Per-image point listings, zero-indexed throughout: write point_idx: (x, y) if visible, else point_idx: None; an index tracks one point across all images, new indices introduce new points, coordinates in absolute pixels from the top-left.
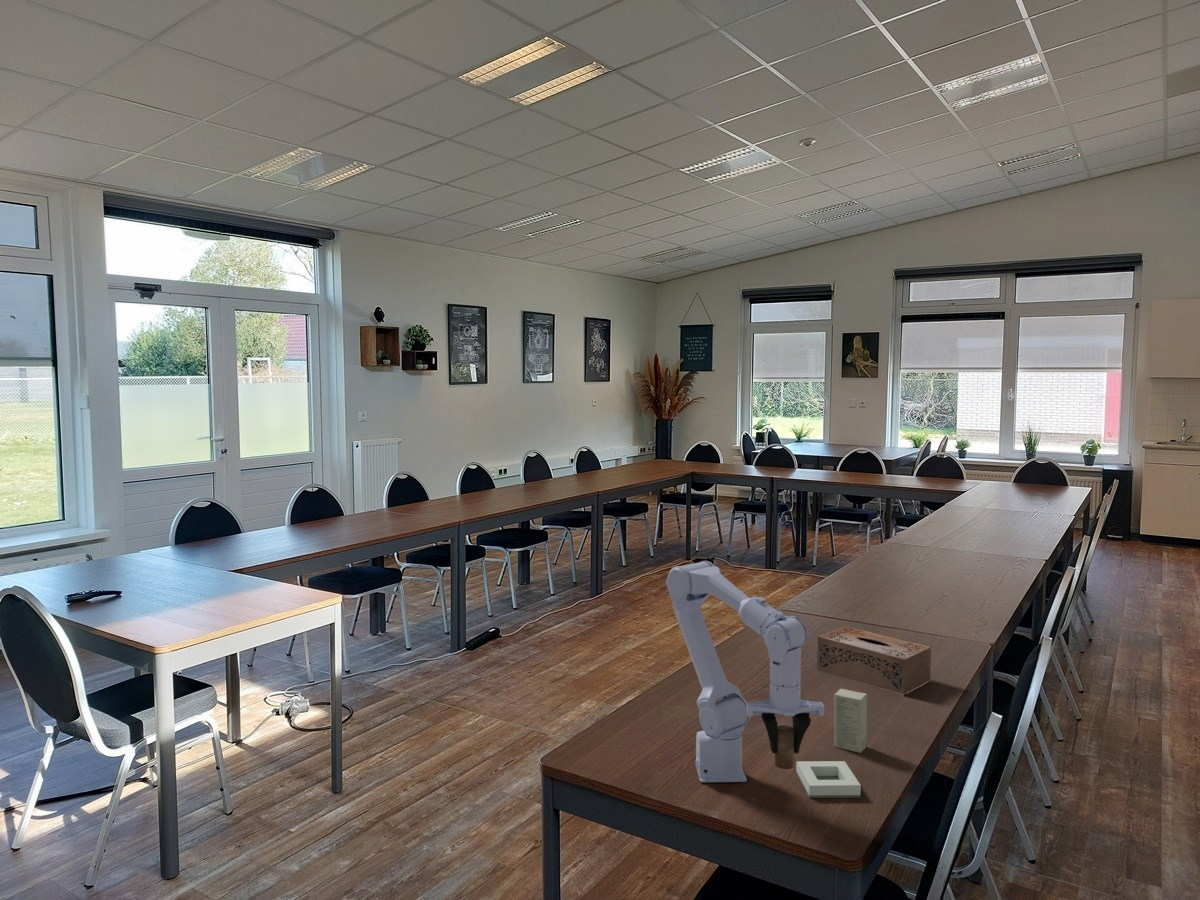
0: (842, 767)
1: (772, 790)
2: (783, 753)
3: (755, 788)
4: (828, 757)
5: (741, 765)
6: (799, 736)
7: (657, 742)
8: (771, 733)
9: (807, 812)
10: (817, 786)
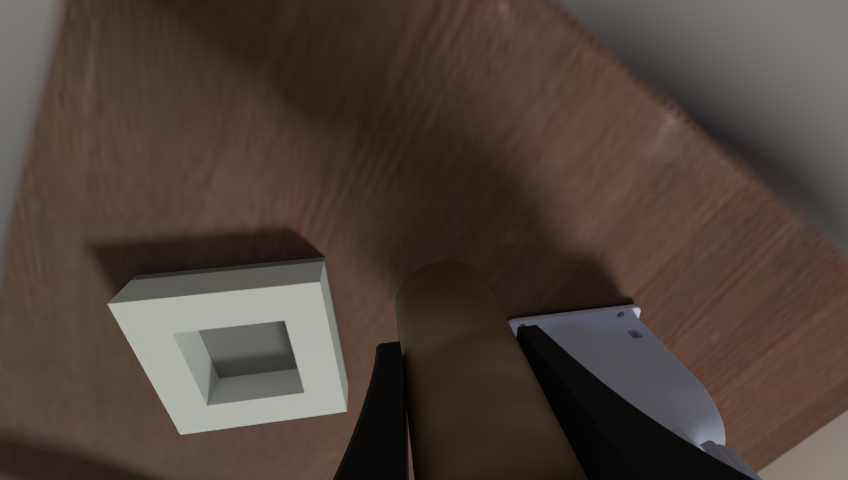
0: (187, 401)
1: None
2: (484, 318)
3: None
4: (244, 458)
5: None
6: (382, 449)
7: None
8: (661, 437)
9: (343, 164)
10: (288, 283)
